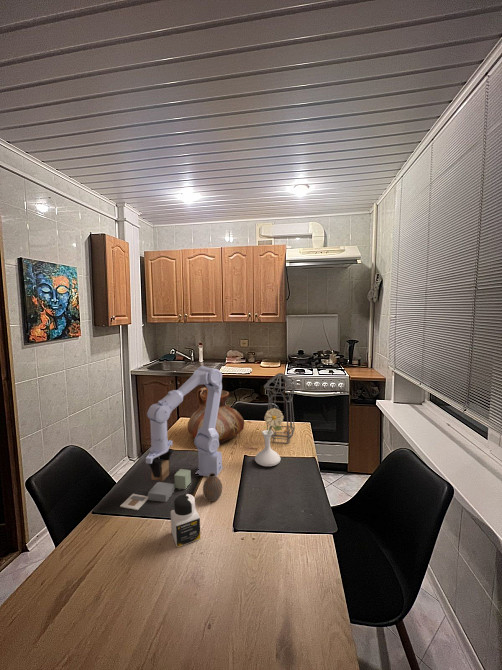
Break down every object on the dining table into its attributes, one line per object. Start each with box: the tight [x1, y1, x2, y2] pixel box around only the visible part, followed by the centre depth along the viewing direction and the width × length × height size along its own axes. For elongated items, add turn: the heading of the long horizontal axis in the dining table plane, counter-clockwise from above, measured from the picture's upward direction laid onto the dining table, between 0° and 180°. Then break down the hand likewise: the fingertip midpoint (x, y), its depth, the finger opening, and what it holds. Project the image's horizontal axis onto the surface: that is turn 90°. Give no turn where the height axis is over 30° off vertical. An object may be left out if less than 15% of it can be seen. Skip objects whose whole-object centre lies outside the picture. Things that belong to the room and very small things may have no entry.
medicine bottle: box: [170, 493, 201, 548], centre depth 90 cm, size 7×7×12 cm
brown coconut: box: [202, 473, 223, 502], centre depth 109 cm, size 7×7×9 cm
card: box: [119, 493, 149, 511], centre depth 107 cm, size 7×7×1 cm
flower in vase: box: [254, 407, 284, 467], centre depth 132 cm, size 13×11×25 cm
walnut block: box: [150, 460, 170, 482], centre depth 110 cm, size 4×4×6 cm
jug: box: [187, 387, 245, 444], centre depth 160 cm, size 30×30×25 cm
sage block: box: [173, 468, 192, 490], centre depth 116 cm, size 4×4×6 cm
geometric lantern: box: [263, 372, 297, 444], centre depth 155 cm, size 16×16×35 cm
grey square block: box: [147, 481, 176, 503], centre depth 111 cm, size 7×7×3 cm
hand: (160, 472), depth 110 cm, fingers closed on walnut block, 4 cm apart
